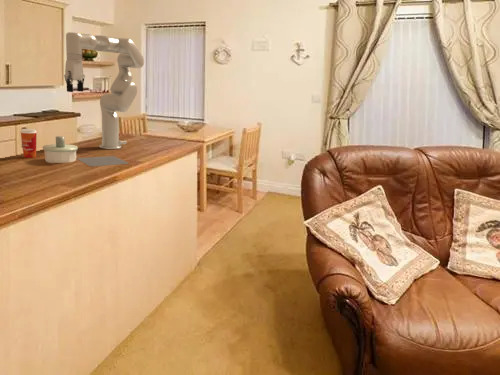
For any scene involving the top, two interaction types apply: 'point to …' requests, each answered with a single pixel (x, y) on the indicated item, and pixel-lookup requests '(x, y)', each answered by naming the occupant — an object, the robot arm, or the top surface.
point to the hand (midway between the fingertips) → (75, 91)
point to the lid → (60, 146)
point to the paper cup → (29, 142)
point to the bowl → (60, 157)
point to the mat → (102, 161)
